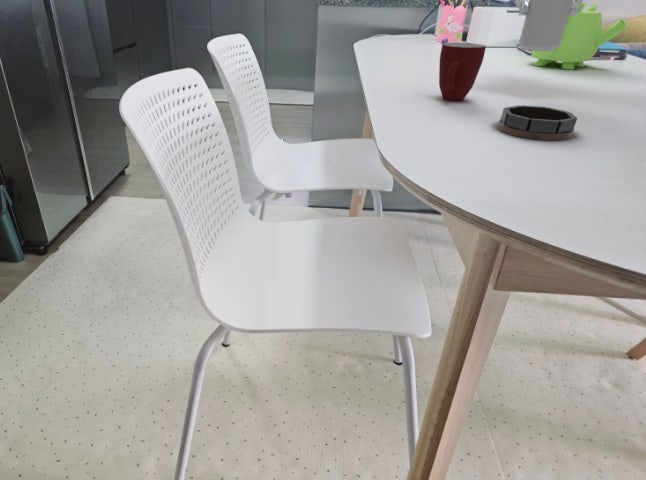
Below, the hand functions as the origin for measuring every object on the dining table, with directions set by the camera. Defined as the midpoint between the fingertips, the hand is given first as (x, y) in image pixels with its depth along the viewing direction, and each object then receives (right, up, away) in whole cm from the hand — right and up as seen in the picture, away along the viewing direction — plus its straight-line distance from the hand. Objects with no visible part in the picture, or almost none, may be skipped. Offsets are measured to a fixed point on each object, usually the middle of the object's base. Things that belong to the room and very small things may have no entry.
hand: (548, 13), depth 91 cm
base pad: (-11, -28, -15) cm, 33 cm away
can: (0, -5, +4) cm, 7 cm away
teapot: (+32, +10, +44) cm, 56 cm away
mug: (-17, -16, +4) cm, 24 cm away
